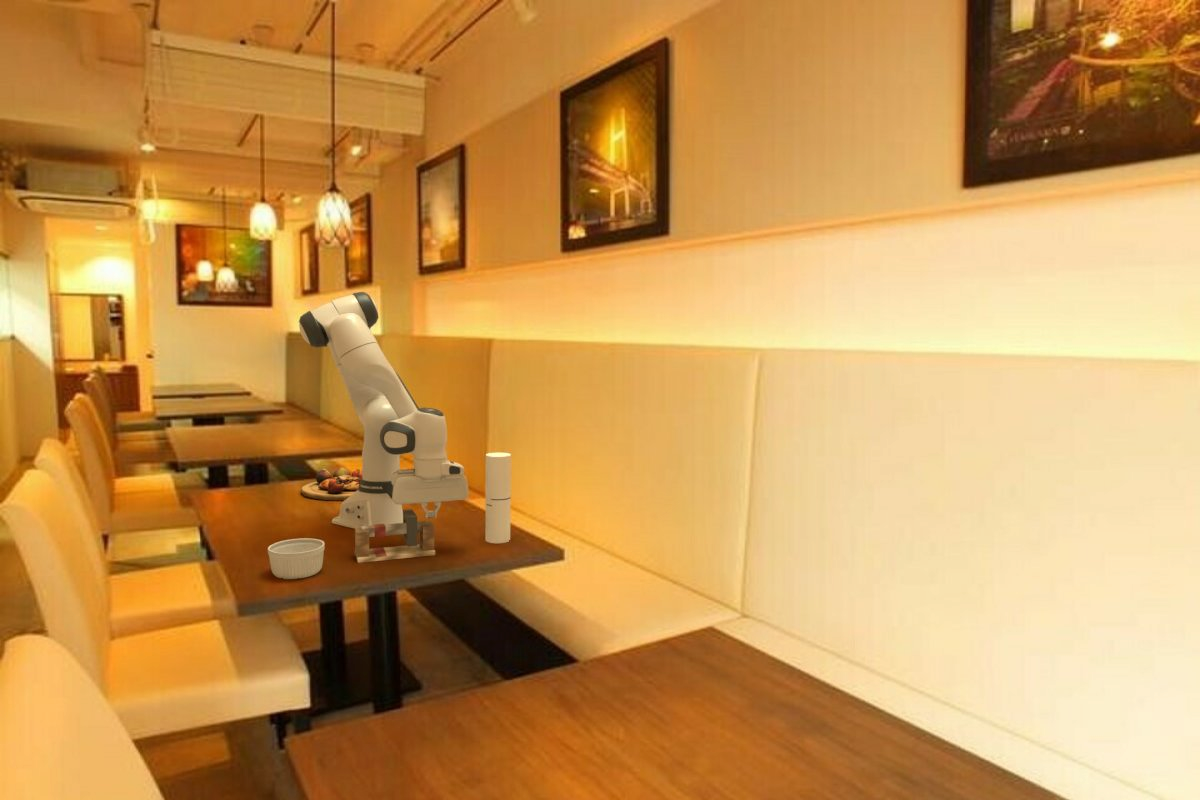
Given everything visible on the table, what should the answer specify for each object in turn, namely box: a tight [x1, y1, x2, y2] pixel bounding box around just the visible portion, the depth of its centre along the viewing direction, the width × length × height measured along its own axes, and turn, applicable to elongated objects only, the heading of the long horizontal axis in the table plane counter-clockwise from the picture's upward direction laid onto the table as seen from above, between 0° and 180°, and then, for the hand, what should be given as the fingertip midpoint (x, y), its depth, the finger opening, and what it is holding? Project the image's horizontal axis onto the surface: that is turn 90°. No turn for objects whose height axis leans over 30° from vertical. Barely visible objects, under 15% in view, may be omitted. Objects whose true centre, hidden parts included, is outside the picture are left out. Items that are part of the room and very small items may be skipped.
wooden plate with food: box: [300, 466, 362, 501], centre depth 279 cm, size 32×32×8 cm
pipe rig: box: [354, 520, 436, 564], centre depth 205 cm, size 20×8×8 cm, turn 113°
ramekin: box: [267, 537, 326, 580], centre depth 190 cm, size 13×13×7 cm
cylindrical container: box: [484, 452, 512, 544], centre depth 220 cm, size 7×7×25 cm
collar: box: [402, 509, 418, 547], centre depth 207 cm, size 2×8×8 cm, turn 23°
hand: (430, 517), depth 209 cm, fingers closed
